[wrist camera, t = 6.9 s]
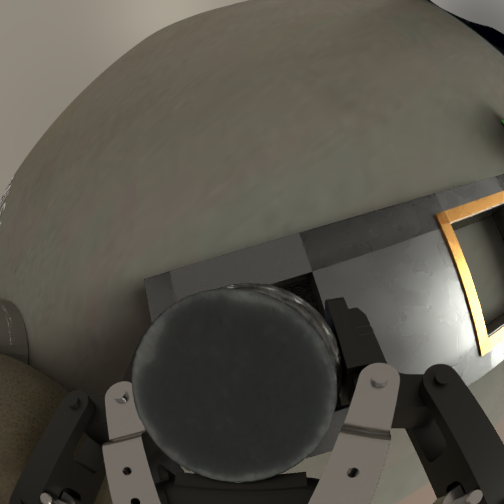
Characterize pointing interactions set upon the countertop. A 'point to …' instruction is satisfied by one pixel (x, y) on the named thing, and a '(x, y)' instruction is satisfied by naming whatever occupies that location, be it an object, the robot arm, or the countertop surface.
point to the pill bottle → (237, 381)
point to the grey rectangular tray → (378, 281)
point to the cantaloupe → (28, 421)
